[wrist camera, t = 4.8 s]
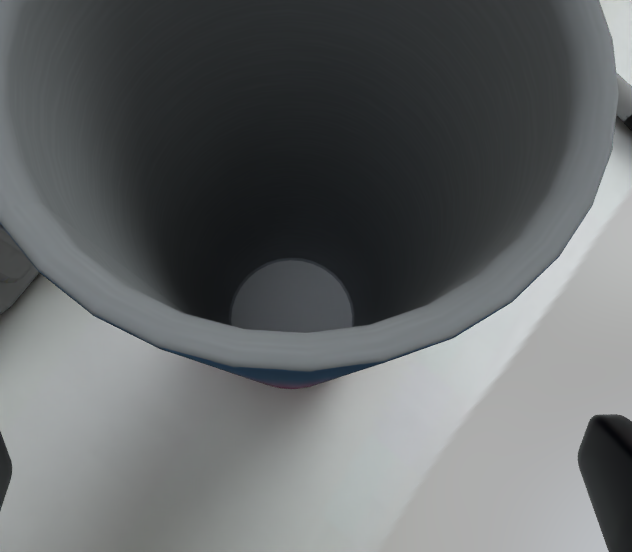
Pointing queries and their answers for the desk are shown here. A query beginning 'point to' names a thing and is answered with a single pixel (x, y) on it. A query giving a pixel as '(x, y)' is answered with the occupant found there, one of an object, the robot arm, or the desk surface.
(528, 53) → the cup
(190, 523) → the desk surface
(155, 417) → the desk surface
